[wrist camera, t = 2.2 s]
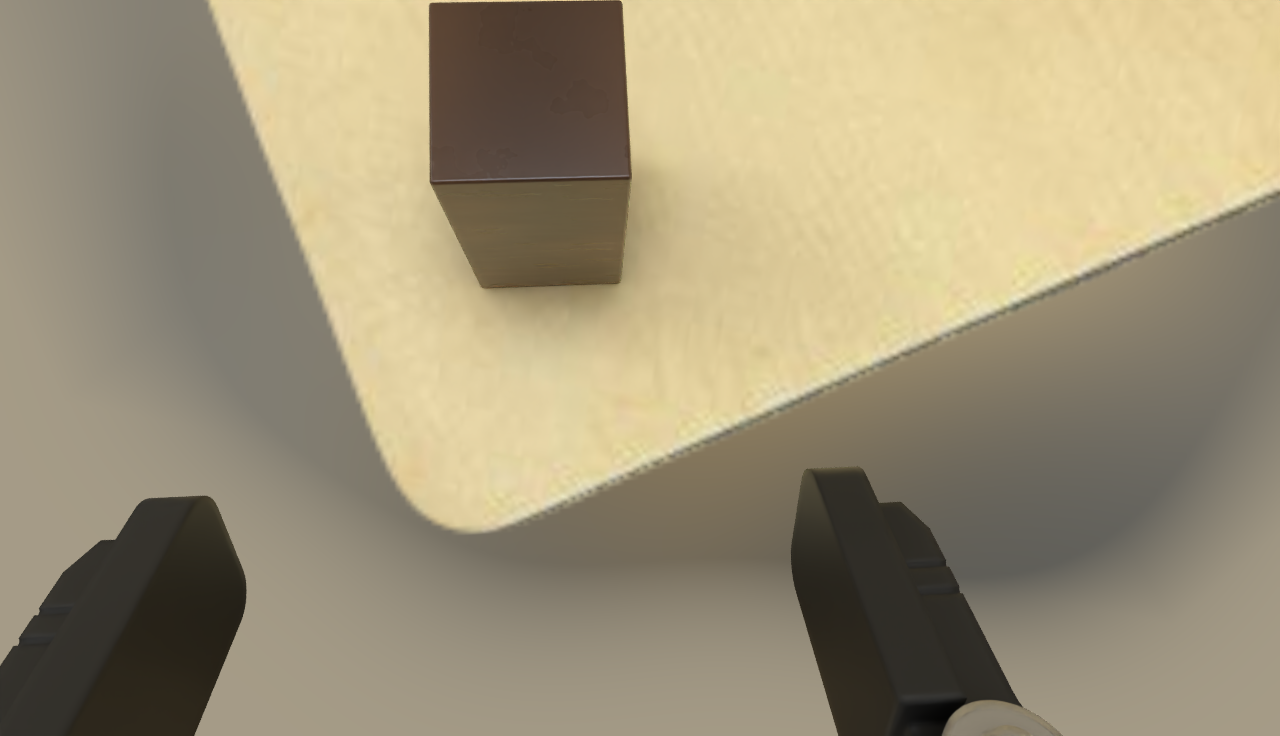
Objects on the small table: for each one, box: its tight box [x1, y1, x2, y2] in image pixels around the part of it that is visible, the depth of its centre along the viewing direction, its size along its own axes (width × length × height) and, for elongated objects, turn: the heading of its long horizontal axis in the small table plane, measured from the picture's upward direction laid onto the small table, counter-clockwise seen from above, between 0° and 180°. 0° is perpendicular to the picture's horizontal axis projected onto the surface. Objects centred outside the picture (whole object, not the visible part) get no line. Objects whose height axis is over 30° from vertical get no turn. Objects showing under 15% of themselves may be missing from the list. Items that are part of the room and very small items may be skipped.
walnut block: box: [429, 0, 632, 288], centre depth 22 cm, size 4×4×8 cm
